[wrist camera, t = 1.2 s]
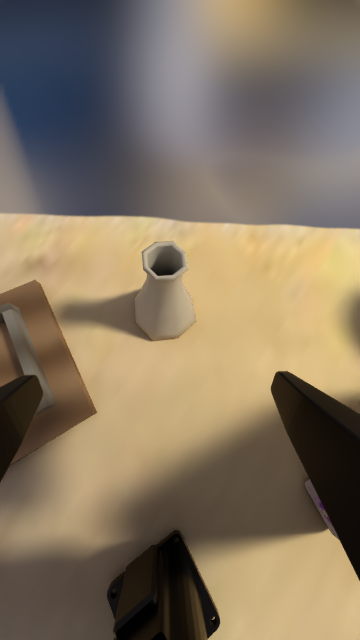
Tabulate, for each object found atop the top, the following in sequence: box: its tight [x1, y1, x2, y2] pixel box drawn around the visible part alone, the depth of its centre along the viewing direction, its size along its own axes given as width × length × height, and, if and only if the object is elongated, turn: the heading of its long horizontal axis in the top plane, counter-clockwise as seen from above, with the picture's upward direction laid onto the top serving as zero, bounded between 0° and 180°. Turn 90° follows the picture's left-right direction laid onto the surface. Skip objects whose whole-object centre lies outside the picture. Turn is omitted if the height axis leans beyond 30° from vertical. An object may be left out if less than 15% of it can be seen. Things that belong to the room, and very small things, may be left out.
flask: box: [134, 241, 196, 341], centre depth 18 cm, size 7×7×10 cm
